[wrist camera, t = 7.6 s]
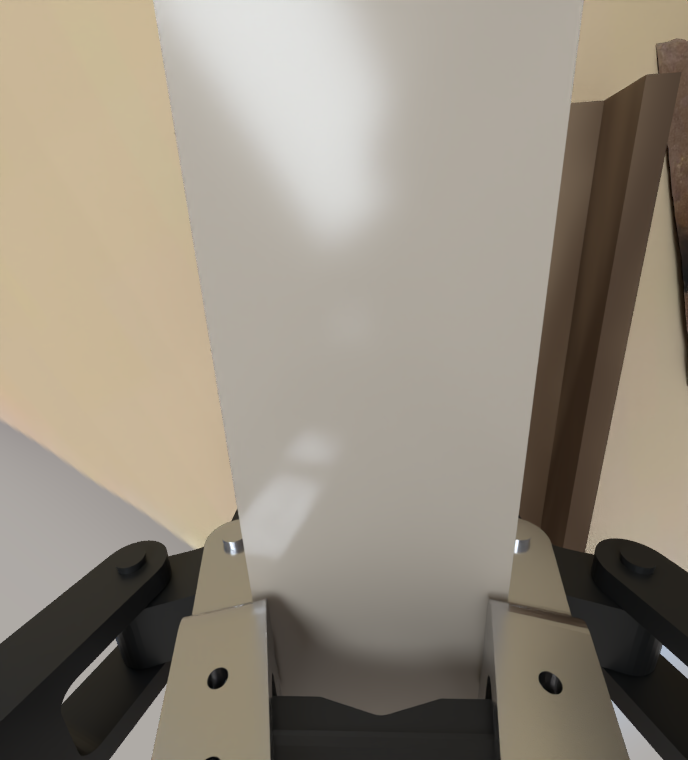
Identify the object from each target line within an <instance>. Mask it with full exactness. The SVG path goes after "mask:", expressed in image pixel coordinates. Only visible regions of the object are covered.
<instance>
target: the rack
mask: <svg viewBox="0 0 688 760" xmlns="http://www.w3.org/2000/svg"><path fill="white" fill-rule="evenodd" d="M681 73H682V72H674V73H662V74H649V75H645V76H644V77H642V78H640V79H639V80H637V81H635V82H634V83H632V84H631V85H629V86H627V87H626V88H624V89H622V90H621V91H619V92H618V93H616V94H614V95H613V96H611V97H609V98H608V99H606V100H605V101H594V102H580V103H571V105H570V113H569V121H568V129H567V137H566V145H565V153H564V160H563V168H562V176H561V184H560V192H559V200H558V208H557V216H556V224H555V231H554V239H553V247H552V255H551V263H550V271H549V279H548V287H547V295H546V303H545V310H544V318H543V326H542V334H541V342H540V350H539V358H538V366H537V374H536V381H535V389H534V397H533V405H532V413H531V421H530V429H529V437H528V445H527V452H526V460H525V468H524V476H523V484H522V492H521V500H520V508H519V515H520V517H521V519H523V520H526V521H528V522H530V523H532V524H534V525H536V526H537V527H539V528H540V529H541V530H543V531H544V532H545V534H546V535H547V536H548V537H549V539H550V541H551V544H553V545H556V546H558V547H562V548H566V549H570V550H574V551H579V552H584V553H585V549H586V544H587V539H588V534H589V529H590V524H591V519H592V514H593V509H594V504H595V499H596V494H597V489H598V484H599V479H600V474H601V469H602V464H603V459H604V454H605V450H606V445H607V440H608V435H609V430H610V425H611V420H612V415H613V410H614V405H615V400H616V395H617V390H618V385H619V380H620V375H621V370H622V365H623V360H624V355H625V350H626V345H627V340H628V336H629V331H630V326H631V321H632V316H633V311H634V306H635V301H636V296H637V291H638V286H639V281H640V276H641V271H642V266H643V261H644V256H645V251H646V246H647V241H648V236H649V231H650V227H651V222H652V217H653V212H654V207H655V202H656V197H657V192H658V187H659V182H660V177H661V172H662V167H663V162H664V157H665V152H666V147H667V142H668V137H669V132H670V127H671V122H672V117H673V113H674V108H675V103H676V98H677V93H678V88H679V83H680V78H681Z"/></svg>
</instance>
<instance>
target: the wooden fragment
mask: <svg viewBox="0 0 688 760" xmlns="http://www.w3.org/2000/svg"><path fill="white" fill-rule="evenodd" d="M656 48H657V54H658V65H659V74H662V73H674V72H682V73H681V78H680V83H679V88H678V93H677V98H676V103H675V108H674V113H673V117H672V122H671V127H670V132H669V137H668V142H667V144H668V149H669V164H670V172H671V186H672V195H673V199H674V207H675V218H676V224H677V233H678V237H679V246H680V253H681V256H682V271H683V281H684V284H685V285H684V296H685V309H686V312H685V315H686V323H687V332H688V41H686V40H683V39H673V40H671V41H669V42H665V43H658V44H656Z"/></svg>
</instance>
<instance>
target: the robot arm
mask: <svg viewBox="0 0 688 760" xmlns="http://www.w3.org/2000/svg"><path fill="white" fill-rule="evenodd" d="M115 638H116V641H117V644H118V646H117V647H116V648H115V649H114V650H113V651H112V652H111V653H110V654H109V655H108V656H107V657H106V658H105V660H104V661H103V662H102V663H101V664H100V665H99V666H98V667H97V668H96V669H95V670H94V671H93V672H92V673H91V674H90V675H89V676H88V677H87V678H86V680H85V681H84V682H83V683H82V684H81V685H80V686H79V687H78V688H77V689H76V690H75V691H74V692H73V693H72V694H71V695H70V696H69V697H68V699H67V700H66V701H65V702H64V703H63V704H62V702H63V699H64V696H65V694H66V692H67V691H68V689H69V687H70V686H71V685H72V683H73V682H74V681H75V680H76V678H77V677H78V676H79V675H80V674H81V673H82V672H83V671H84V670H85V669H86V668H87V667H88V666H89V665H90V664H91V663H92V662H93V661H94V660H95V659H96V658H97V657H98V656H99V655H100V654H101V653H102V652H103V651H104V650H105V649H106V648H107V646H108V645H109V644H110V643H111V642H112V641H113V640H114V639H115ZM662 645H664V646H665V647H666V648H667V649H669V650H670V651H671V652H672V653H673V654H674V655H675V656H676V657H678V658H679V659H680V660H681V661H682V662H683V663H684V664H685V665H686V666H688V572H686V571H685V570H684V569H682V568H681V567H679V566H678V565H676V564H675V563H673V562H672V561H670V560H669V559H667V558H666V557H665V556H663V555H662V554H660V553H658V552H657V551H655V550H653V549H651V548H649V547H647V546H645V545H642V544H640V543H637V542H634V541H630V540H625V539H606V540H603V541H601V542H599V543H598V544H597V546H596V549H595V554H594V555H593V554H588V553H584V552H579V551H574V550H570V549H566V548H562V547H558V546H556V545H553V544H551V541H550V539H549V537H548V536H547V535H546V534H545V532H544V531H543V530H541V529H540V528H539V527H537V526H536V525H534V524H532V523H530V522H528V521H526V520H523V519H521V517H520V515H519V516H518V524H517V531H516V539H515V547H514V555H513V563H512V571H511V579H510V587H509V595H508V602H507V603H506V602H502V601H497V600H492V599H489V600H488V604H487V613H486V623H485V633H484V649H483V658H482V668H481V678H480V687H479V691H478V699H444V698H441V699H437V700H434V701H431V702H427V703H424V704H421V705H417V706H414V707H411V708H407V709H404V710H401V711H397V712H394V713H391V714H387V715H375V714H372V713H369V712H366V711H363V710H360V709H357V708H354V707H351V706H348V705H345V704H341V703H338V702H335V701H332V700H329V699H326V698H323V697H317V696H282V693H281V686H280V682H279V675H278V669H277V662H276V655H275V648H274V641H273V632H272V625H271V618H270V612H269V605H268V600H267V599H262V600H258V601H253V599H252V593H251V587H250V581H249V575H248V569H247V563H246V557H245V551H244V545H243V539H242V533H241V527H240V521H239V515H238V509H237V510H236V513H235V515H234V517H233V519H232V521H231V522H228V523H225V524H223V525H221V526H220V527H218V528H217V529H215V530H214V531H213V532H212V533H211V534H210V535H209V536H208V538H207V540H206V542H205V545H204V547H202V548H199V549H196V550H193V551H189V552H185V553H181V554H177V555H172V556H168V554H167V550H166V547H165V546H164V545H163V544H162V543H159V542H156V541H141V542H137V543H133V544H130V545H128V546H125V547H123V548H121V549H120V550H118V551H116V552H115V553H114V554H112V555H110V556H109V557H108V558H107V559H105V560H104V561H103V562H102V563H101V564H99V565H98V566H97V567H95V568H94V569H93V570H92V571H90V572H89V573H88V574H87V575H85V576H84V577H83V578H82V579H81V580H79V581H78V582H77V583H75V584H74V585H73V586H72V587H70V588H69V589H68V590H67V591H66V592H64V593H63V594H62V595H61V596H59V597H58V598H57V599H56V600H54V601H53V602H52V603H51V604H49V605H48V606H47V607H46V608H44V609H43V610H42V611H41V612H39V613H38V614H37V615H36V616H34V617H33V618H32V619H31V620H29V621H28V622H27V623H26V624H24V625H23V626H22V627H21V628H19V629H18V630H17V631H16V632H14V633H13V634H12V635H11V636H9V637H8V638H7V639H6V640H5V641H3V642H2V643H1V644H0V760H109V759H110V758H111V756H112V755H113V754H114V753H115V751H116V750H117V748H118V747H119V746H120V745H121V743H122V742H123V741H124V739H125V738H126V737H127V735H128V734H129V733H130V731H131V730H132V729H133V728H134V726H135V725H136V724H137V722H138V721H139V719H140V718H141V717H142V716H143V714H144V713H145V712H146V710H147V709H148V707H149V706H150V705H151V704H152V702H153V701H154V700H155V698H156V697H157V696H158V694H159V693H160V691H161V690H162V689H163V688H164V686H165V685H166V684H167V686H166V691H165V696H164V701H163V705H162V710H161V715H160V720H159V725H158V729H157V734H156V739H155V744H154V749H153V754H152V758H151V760H630V759H629V756H628V753H627V749H626V746H625V743H624V740H623V737H622V733H621V730H620V728H619V725H618V721H617V718H616V714H615V711H614V708H613V705H612V702H611V700H612V701H613V702H614V703H615V704H616V705H617V707H618V708H619V709H620V710H621V711H622V713H623V714H624V715H625V716H626V717H627V718H628V719H629V721H630V722H631V723H632V724H633V725H634V726H635V727H636V729H637V730H638V731H639V732H640V733H641V734H642V736H643V737H644V738H645V739H646V740H647V741H648V742H649V744H651V746H652V747H653V748H654V749H655V751H656V752H657V753H658V754H659V755H660V756H661V757H662V759H663V760H688V679H687V678H686V677H685V676H684V675H683V674H682V673H681V672H680V671H678V670H677V669H676V668H675V667H674V666H673V665H672V664H671V663H670V662H668V661H667V660H666V659H665V658H664V657H663V656H662V655H661V654H660V651H661V648H662Z"/></svg>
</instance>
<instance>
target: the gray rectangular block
mask: <svg viewBox="0 0 688 760" xmlns="http://www.w3.org/2000/svg"><path fill="white" fill-rule="evenodd" d="M153 2H154V8H155V14H156V20H157V26H158V32H159V38H160V44H161V50H162V56H163V62H164V68H165V74H166V80H167V87H168V93H169V99H170V105H171V111H172V117H173V123H174V129H175V135H176V141H177V147H178V153H179V159H180V165H181V171H182V177H183V183H184V189H185V195H186V201H187V207H188V213H189V219H190V225H191V231H192V237H193V243H194V249H195V255H196V261H197V267H198V273H199V279H200V285H201V292H202V298H203V304H204V310H205V316H206V322H207V328H208V334H209V340H210V346H211V352H212V358H213V364H214V370H215V376H216V382H217V388H218V394H219V400H220V406H221V412H222V418H223V424H224V430H225V436H226V442H227V448H228V454H229V460H230V466H231V472H232V478H233V484H234V491H235V497H236V503H237V509H238V515H239V521H240V527H241V533H242V539H243V545H244V551H245V557H246V563H247V569H248V575H249V581H250V587H251V593H252V599H253V601H258V600H262V599H267V600H268V605H269V612H270V618H271V625H272V632H273V641H274V648H275V655H276V662H277V669H278V675H279V682H280V686H281V693H282V696H317V697H323V698H326V699H329V700H332V701H335V702H338V703H341V704H345V705H348V706H351V707H354V708H357V709H360V710H363V711H366V712H369V713H372V714H375V715H387V714H391V713H394V712H397V711H401V710H404V709H407V708H411V707H414V706H417V705H421V704H424V703H427V702H431V701H434V700H437V699H441V698H444V699H478V691H479V687H480V678H481V668H482V658H483V649H484V633H485V623H486V613H487V604H488V600H489V599H492V600H497V601H502V602H506V603H507V602H508V595H509V587H510V579H511V571H512V563H513V555H514V547H515V539H516V531H517V524H518V516H519V508H520V500H521V492H522V484H523V476H524V468H525V460H526V452H527V445H528V437H529V429H530V421H531V413H532V405H533V397H534V389H535V381H536V374H537V366H538V358H539V350H540V342H541V334H542V326H543V318H544V310H545V303H546V295H547V287H548V279H549V271H550V263H551V255H552V247H553V239H554V231H555V224H556V216H557V208H558V200H559V192H560V184H561V176H562V168H563V160H564V153H565V145H566V137H567V129H568V121H569V113H570V105H571V97H572V89H573V81H574V74H575V66H576V58H577V50H578V42H579V34H580V26H581V18H582V10H583V3H584V0H153Z"/></svg>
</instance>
